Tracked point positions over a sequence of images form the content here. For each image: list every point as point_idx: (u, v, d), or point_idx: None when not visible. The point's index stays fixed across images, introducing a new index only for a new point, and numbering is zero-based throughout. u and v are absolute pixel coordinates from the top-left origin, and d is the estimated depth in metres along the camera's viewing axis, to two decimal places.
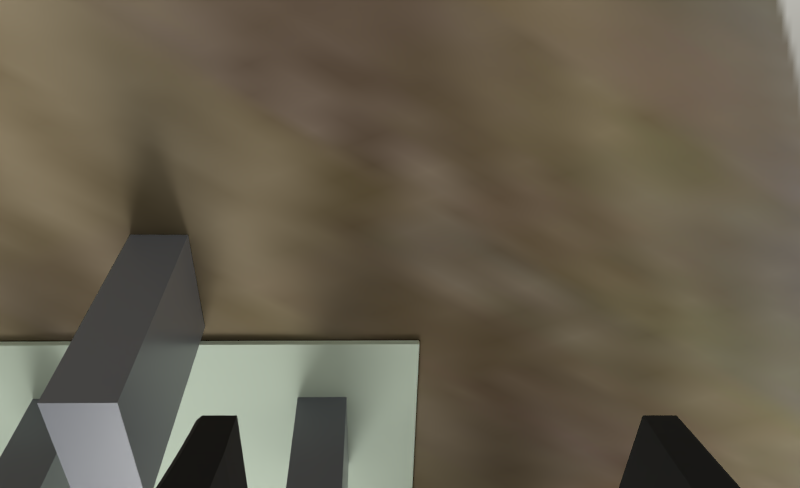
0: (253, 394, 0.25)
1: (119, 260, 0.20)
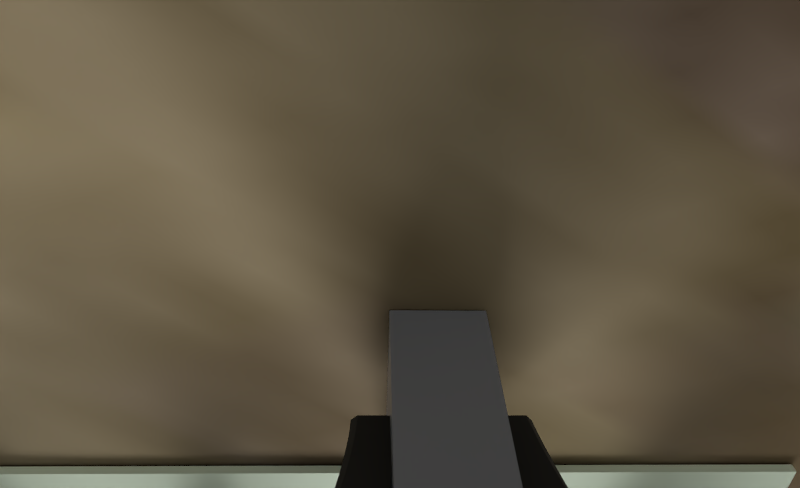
0: None
1: (397, 362, 0.12)
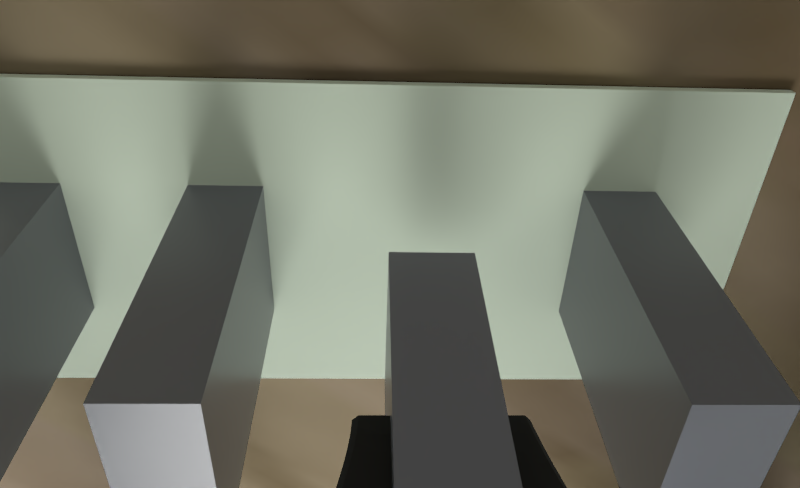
0: (519, 184, 0.17)
1: (395, 293, 0.13)
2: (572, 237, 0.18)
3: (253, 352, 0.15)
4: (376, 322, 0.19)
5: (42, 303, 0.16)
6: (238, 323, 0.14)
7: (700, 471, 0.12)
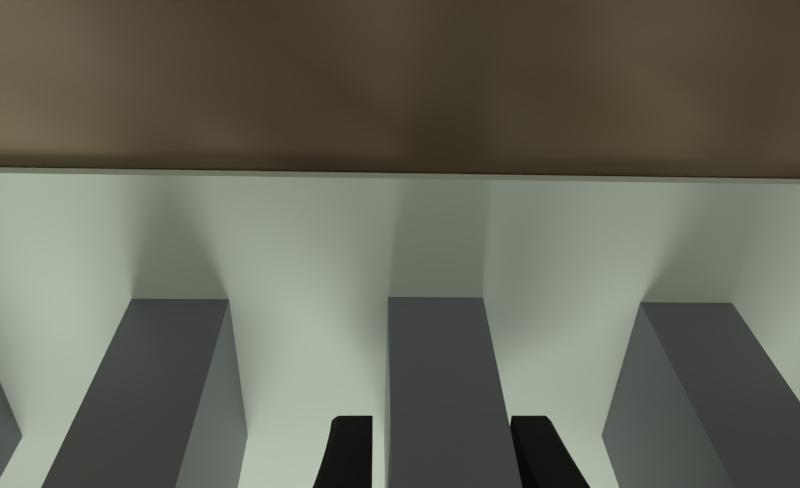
0: (558, 294, 0.13)
1: (395, 347, 0.12)
2: (623, 355, 0.14)
3: None
4: (374, 450, 0.15)
5: None
6: None
7: None
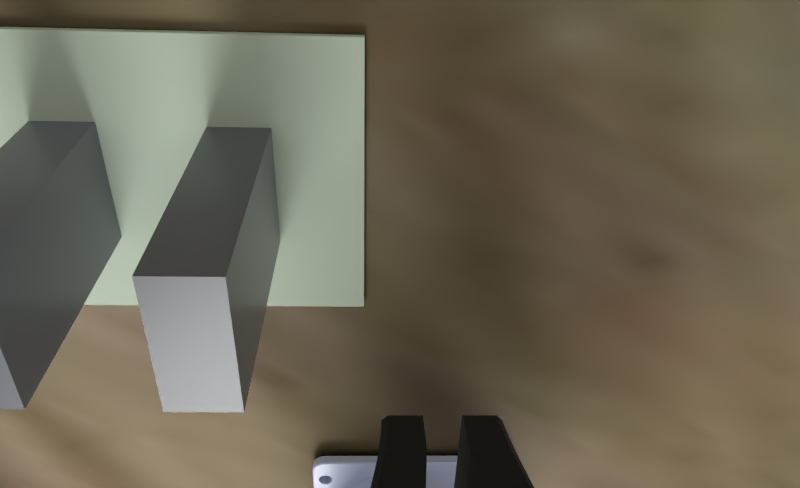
0: (147, 120, 0.19)
1: (10, 142, 0.18)
2: None
3: None
4: None
5: None
6: None
7: (175, 340, 0.14)
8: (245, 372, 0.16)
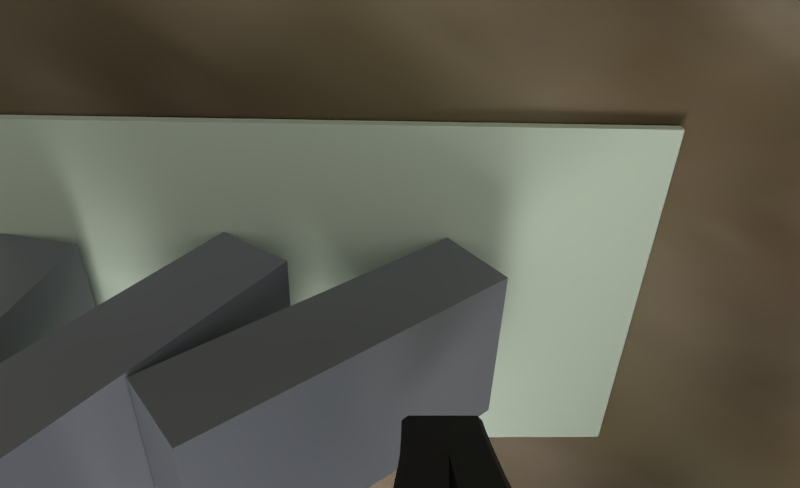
0: (379, 230, 0.15)
1: (175, 264, 0.14)
2: None
3: None
4: None
5: None
6: None
7: (157, 468, 0.12)
8: None
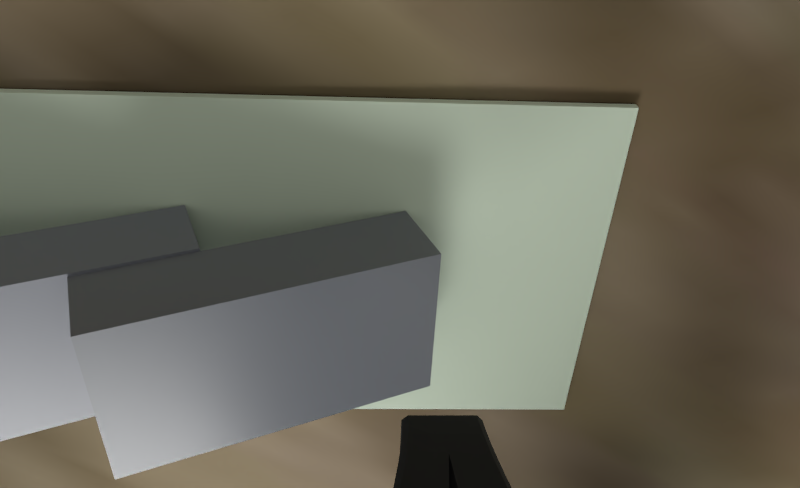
0: (348, 204, 0.15)
1: (118, 218, 0.15)
2: None
3: None
4: None
5: None
6: None
7: None
8: (139, 448, 0.14)
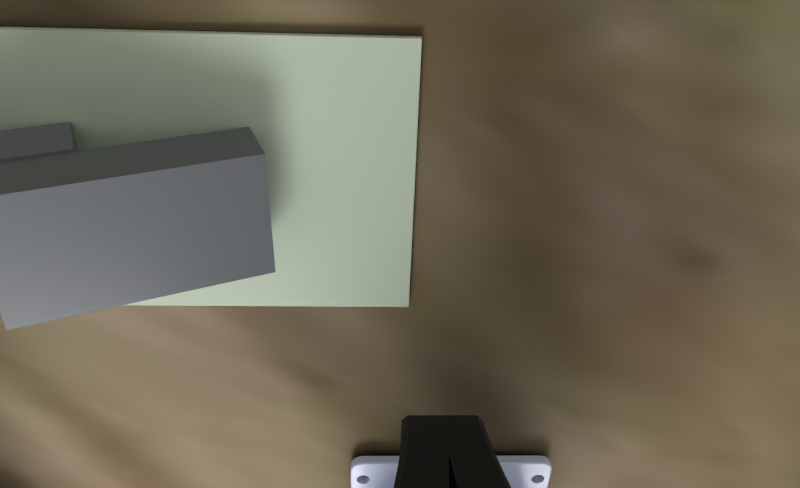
0: (201, 121, 0.19)
1: (14, 130, 0.18)
2: None
3: None
4: None
5: None
6: None
7: None
8: (24, 304, 0.17)
